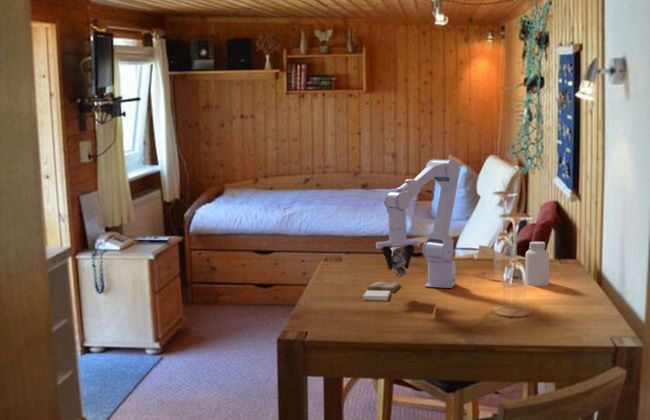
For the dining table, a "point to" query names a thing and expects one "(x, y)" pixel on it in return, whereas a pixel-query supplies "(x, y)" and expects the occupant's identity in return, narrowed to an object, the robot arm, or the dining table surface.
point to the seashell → (398, 262)
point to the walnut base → (384, 286)
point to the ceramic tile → (376, 295)
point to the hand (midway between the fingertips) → (398, 268)
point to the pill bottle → (537, 265)
